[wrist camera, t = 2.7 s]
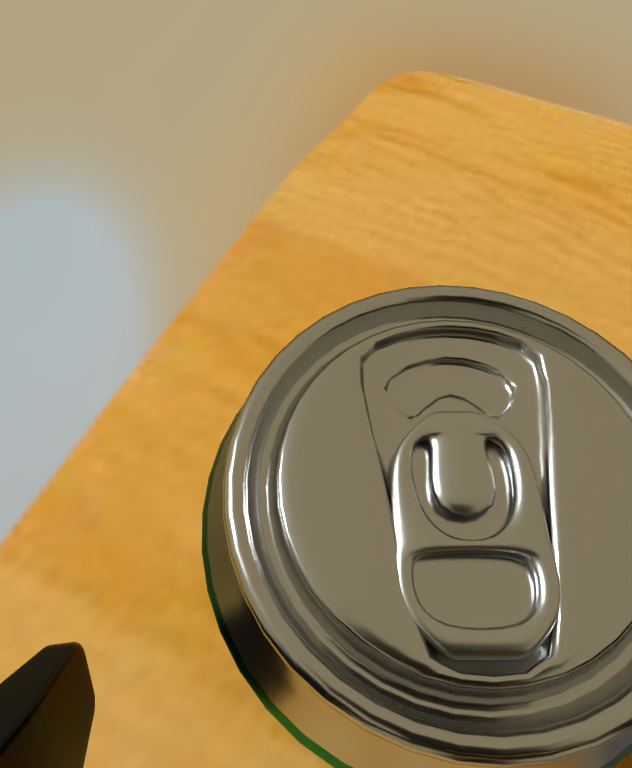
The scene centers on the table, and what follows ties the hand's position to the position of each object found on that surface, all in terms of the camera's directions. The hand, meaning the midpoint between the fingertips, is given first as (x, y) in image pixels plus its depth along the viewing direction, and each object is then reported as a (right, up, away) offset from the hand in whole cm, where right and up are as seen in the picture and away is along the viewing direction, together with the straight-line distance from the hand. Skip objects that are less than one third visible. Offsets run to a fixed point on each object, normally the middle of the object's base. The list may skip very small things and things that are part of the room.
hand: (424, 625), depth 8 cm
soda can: (0, -4, +8) cm, 9 cm away
